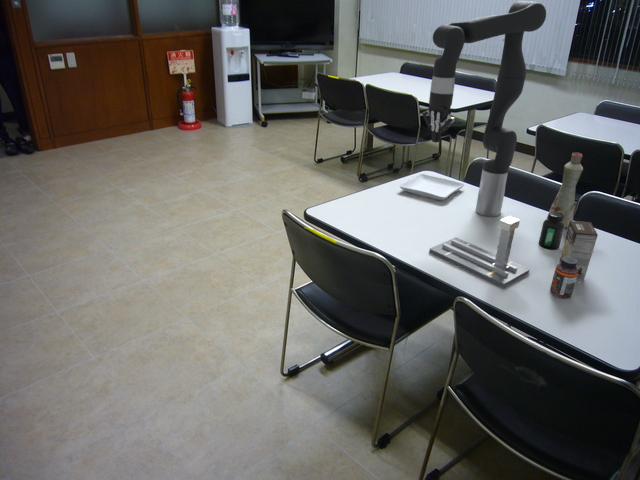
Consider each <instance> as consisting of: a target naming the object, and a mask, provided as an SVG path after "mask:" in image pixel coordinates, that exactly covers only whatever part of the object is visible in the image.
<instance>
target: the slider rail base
mask: <svg viewBox="0 0 640 480" xmlns="http://www.w3.org/2000/svg"><path fill="white" fill-rule="evenodd" d="M428 253H429V254H431V255H433V256H435V257H437V258H439V259H442V260H443V261H446V262H448V263H450V264H452V265H453V266H454V265H455V266H456V267H458V268H460V269H462V270H464V271H466V272H468V273H471V274H473V275H475V276H476V277H479V278H481V279H483V280H485V281H487V282H489V283H491V284H494V285H496V286H497V287H500V288H501V289H504V288H506V287H508V286H510V285H511V284H512V285H513V283H515V282H516V281H518V280H521V279H522V278H524V277H526V276H527V275H529V273H530V269H529V268H527V267H525V266H523V265H520V264H518V263H515V262H513V261H512V260H509V259H508V264H507V266H509V268H508V270H506V271H505V270H503V269H500V268H498V267H496V266H494V265H492V264H494V263H495V258H496V253H493V252H491V251H488V250H486V249H484V248H481V247H479V246H476V245H474V244H473V243H470V242H468V241H465V240H463V239H462V238H459V237H453V238H451V239H448V240H447V241H445V242H442V243H439V244H436V245H435V246H433V247H431V248H429V252H428Z"/></svg>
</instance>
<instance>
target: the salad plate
mask: <svg viewBox="0 0 640 480" xmlns="http://www.w3.org/2000/svg"><path fill="white" fill-rule="evenodd" d="M464 186H465V183H462V182H459V181H455V180H450V179H447V178H443V177H439V176H434V175H429V174H425V173H420V174H418V175H416V176H415V177H412V178H411V179H408V180H407V181H405V182H403V183H402V184H400V185H399V188H400V189H401V190H403V191H404V192H407V193H410V194H414V195H417V196H420V197H425V198H428V199H433V200H437V201H443V200H445V199H447V198H448V197H449V196H451V195H453V194H455V193H456V192H458V191H459V190H461V189H462V188H463V187H464Z"/></svg>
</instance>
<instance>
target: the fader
mask: <svg viewBox="0 0 640 480" xmlns="http://www.w3.org/2000/svg"><path fill="white" fill-rule="evenodd" d="M520 221H521V219H519V218H516V217H513V216H511V215H509V216H506V217H504V218H501V219H499V222H498V229H500V235H499V237H498V239H499V240H498V243H497V248H496V253H495V255H496V258H495V263H494V264H492V265H494V266H496V267H498V268H500V269H503V270H505V271H506V270H508V268H509V266H507V264H508V260H509V258H510V253H511V249H512V245H513V241H514V235H515V230H516V229H518V228H519V226H520Z"/></svg>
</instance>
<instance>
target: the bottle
mask: <svg viewBox="0 0 640 480" xmlns="http://www.w3.org/2000/svg"><path fill="white" fill-rule="evenodd" d="M570 157H571V159H570V161H568V162H567V163H566V164H565V165H564V166H563V167H564V168H563V175H562V183H561V185H560V188H559V190H558V193H557V194H556V196H555V198H554V200H553V202H552V204H551V207H550V208H549V211H548V214H547V217H546V219H548V215H549V212H560V213H562V214H564V220H563V221H562V222H563V223H564V224H565V228H568V225H569V222H570V221H574V214H575V213H574V210H575V201H576V200H575V198H576V189H577V188H576V186H577V184H578V182H579V179H580V177H581V175H582V173H583V171H584V167H583V166H582V164H581V161H582V159H583V154H582V153H581V152H572V153H571V156H570ZM565 228H564V229H565Z"/></svg>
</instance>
